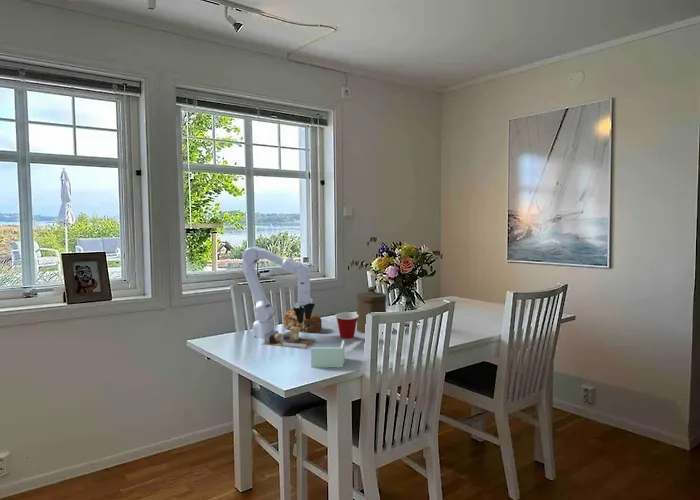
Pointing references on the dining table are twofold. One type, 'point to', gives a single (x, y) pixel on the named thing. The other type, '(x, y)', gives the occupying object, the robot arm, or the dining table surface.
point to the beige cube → (291, 336)
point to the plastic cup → (346, 324)
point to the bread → (307, 325)
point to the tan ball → (277, 337)
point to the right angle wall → (328, 356)
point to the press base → (303, 344)
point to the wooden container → (369, 306)
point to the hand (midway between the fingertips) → (304, 320)
